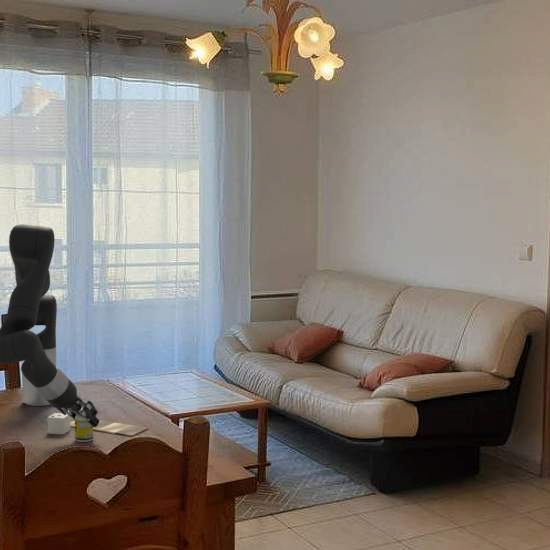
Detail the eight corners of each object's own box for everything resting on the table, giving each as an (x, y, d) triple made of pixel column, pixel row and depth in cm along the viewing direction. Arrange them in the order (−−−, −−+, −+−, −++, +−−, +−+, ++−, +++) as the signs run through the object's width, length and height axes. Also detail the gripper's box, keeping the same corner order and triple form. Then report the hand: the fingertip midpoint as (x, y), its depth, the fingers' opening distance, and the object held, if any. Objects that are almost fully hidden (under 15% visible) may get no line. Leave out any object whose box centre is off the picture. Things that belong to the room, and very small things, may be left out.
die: (47, 433, 218) (47, 417, 217) (54, 429, 222) (54, 412, 222) (63, 434, 217) (63, 418, 217) (70, 430, 221) (70, 413, 221)
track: (64, 425, 225) (64, 424, 225) (82, 419, 232) (82, 417, 232) (131, 436, 216) (131, 435, 216) (148, 429, 223) (148, 427, 223)
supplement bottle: (76, 437, 215) (76, 405, 214) (94, 437, 215) (94, 405, 214) (73, 442, 210) (73, 410, 209) (92, 442, 210) (92, 410, 210)
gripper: (83, 377, 201) (116, 414, 212) (42, 370, 208) (77, 406, 220) (67, 403, 197) (102, 439, 208) (26, 394, 204) (62, 430, 216)
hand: (89, 422), depth 214 cm, fingers closed on supplement bottle, 4 cm apart
